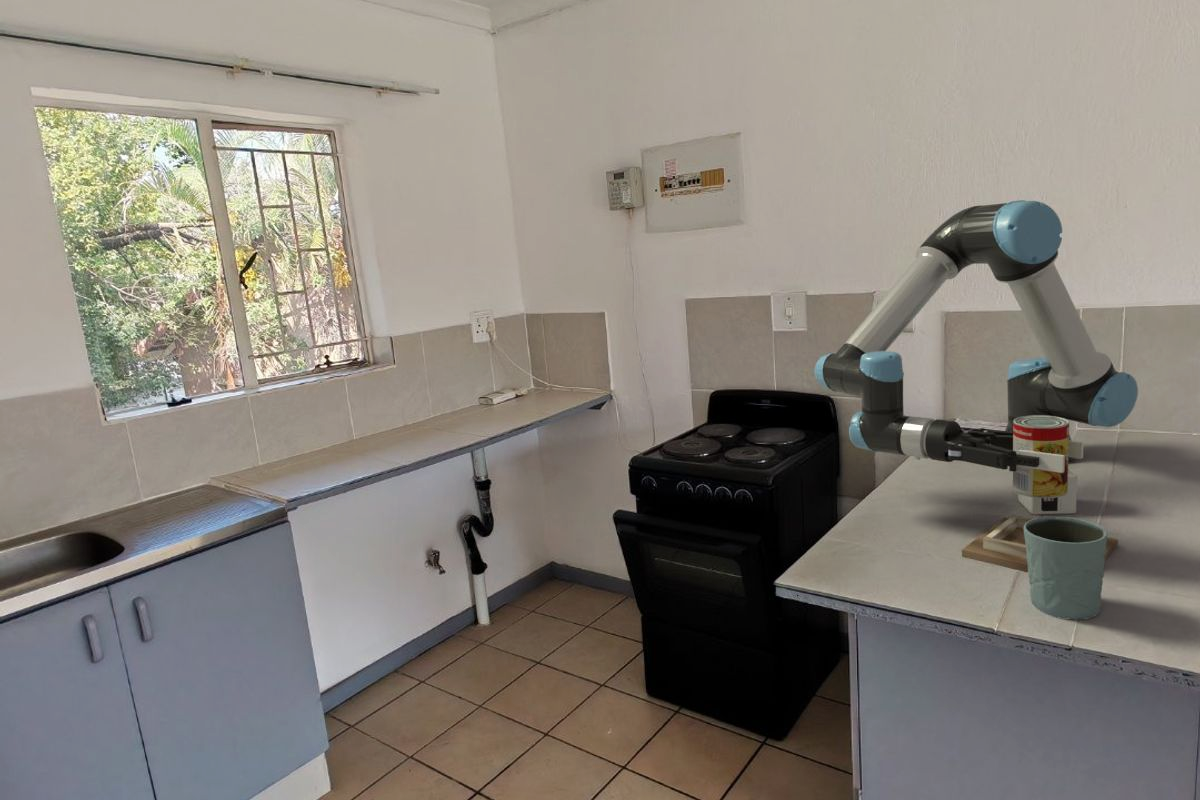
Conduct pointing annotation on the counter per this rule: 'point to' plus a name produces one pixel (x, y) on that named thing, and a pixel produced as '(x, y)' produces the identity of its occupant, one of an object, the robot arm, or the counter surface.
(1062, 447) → the canned food
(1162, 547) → the counter surface
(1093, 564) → the green plant pot
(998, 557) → the collar board
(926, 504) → the counter surface
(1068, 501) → the container
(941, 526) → the counter surface
